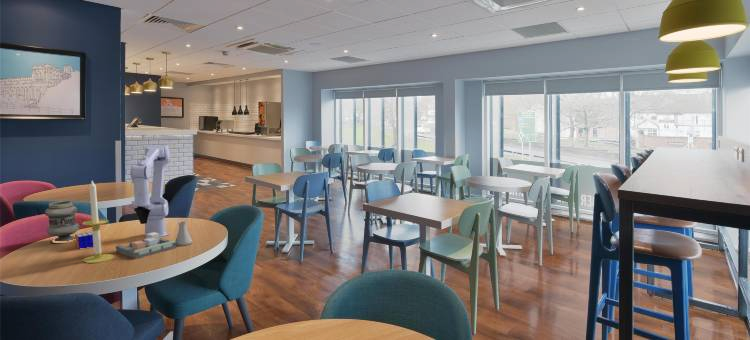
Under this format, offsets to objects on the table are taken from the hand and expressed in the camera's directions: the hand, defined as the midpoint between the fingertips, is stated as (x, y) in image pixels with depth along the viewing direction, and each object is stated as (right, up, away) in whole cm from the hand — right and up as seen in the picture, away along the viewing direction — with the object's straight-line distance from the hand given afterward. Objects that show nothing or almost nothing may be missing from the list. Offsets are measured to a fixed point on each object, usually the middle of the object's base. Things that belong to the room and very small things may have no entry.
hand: (143, 223), depth 178 cm
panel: (+3, -11, -3) cm, 12 cm away
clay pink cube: (+4, -10, -10) cm, 15 cm away
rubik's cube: (-26, -11, 0) cm, 28 cm away
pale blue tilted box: (+6, -10, -5) cm, 13 cm away
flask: (+15, -10, +6) cm, 19 cm away
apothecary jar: (-41, -9, +8) cm, 43 cm away
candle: (-10, -13, -15) cm, 22 cm away
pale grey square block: (+3, -9, +3) cm, 10 cm away
